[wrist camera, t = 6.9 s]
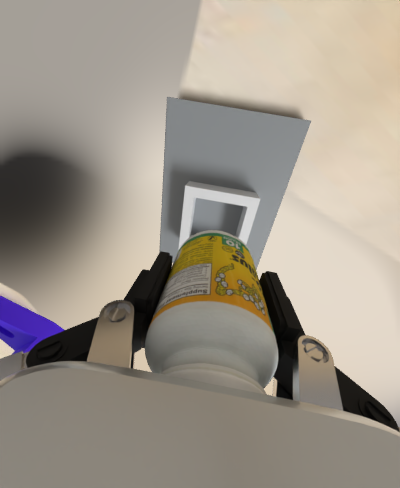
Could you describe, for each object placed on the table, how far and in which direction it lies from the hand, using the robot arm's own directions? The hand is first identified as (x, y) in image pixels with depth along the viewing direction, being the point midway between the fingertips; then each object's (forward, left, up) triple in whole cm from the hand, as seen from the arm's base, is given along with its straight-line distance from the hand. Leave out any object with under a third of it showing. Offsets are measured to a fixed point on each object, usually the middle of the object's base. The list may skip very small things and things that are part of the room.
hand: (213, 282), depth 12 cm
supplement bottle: (0, 0, -2) cm, 2 cm away
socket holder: (0, 0, -18) cm, 18 cm away
